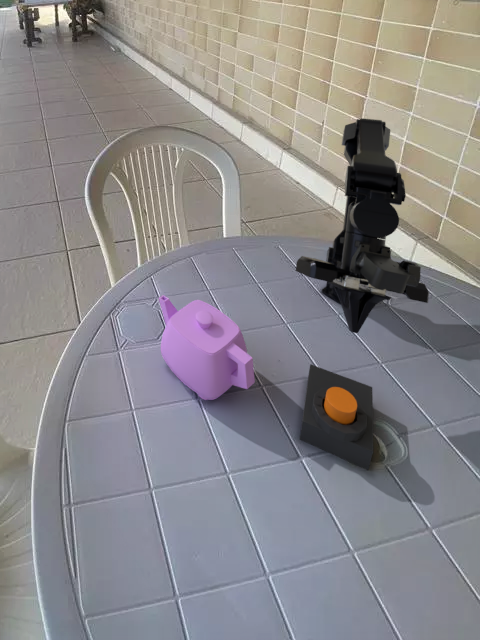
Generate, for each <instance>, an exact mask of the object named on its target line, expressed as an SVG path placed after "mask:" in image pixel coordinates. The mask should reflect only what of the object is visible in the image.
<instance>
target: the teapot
mask: <svg viewBox="0 0 480 640" xmlns="http://www.w3.org/2000/svg"><path fill="white" fill-rule="evenodd" d="M158 301H159V305H160V308H161V312H162V315H163V320H164V323H165V328H164V330H163V332H162V336H161V341H160V354H161V356H162V358H163V360H164V362H165V364H166V365H167V367H168V368H169V369H170V370H171V372H172V373H173V374H174V375H175V377H177V378H178V380H179V381H181V383H183V384H184V385H185V386H186V387H188V388H189V389H190V390H192V391H193V392H195V393H196V394H197V395H198V397H199V398H200V399H202V400H205V401H208V400H210V401H213V400H216V399H218V398H219V397H221V396H222V395H223V394H224V393H226V392H227V391H228V390H229V389H230V388H232V387H233V386H235V387H237V388H241V389H244V390H248V389H249V388H251V386H253V385H254V384H255V383H256V382H255V380H256V379H255V372H254V370H255V369H254V358H253V357H252V356H251V355H250V354H249V353H248V349H247V348H248V347H247V343H246V342H245V338H244V336H243V333H242V330H241V328H240V326H238V324H237V323H236V322H235V321H234V320H232V319H231V318H230V317H229V316H227V314H225V313H224V312H223V311H221V310H219V309H218V308H216V307H215V306H213V305H211V304H209V303H208V302H205V301H204V300H200V299H195V300H192V301H191V302H189V303H187V304H186V305H184V306H183V307H182V308H180V309H179V310H178V309H177V308H176V306H175V305H174V304H173V302H172V301H171V300H170V298H169V297H167V296H166V295H165V294H163V295H161V296H159V297H158Z"/></svg>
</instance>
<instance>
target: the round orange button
mask: <svg viewBox="0 0 480 640" xmlns="http://www.w3.org/2000/svg"><path fill="white" fill-rule="evenodd" d="M324 409H325V411H326V413H327V415H328V416H329V417H330V418H331V419H332V420H334V421H335V422H338V423H340V424H344V425H348V424H351V423H352V422H353V421H354V419H355V414H356V410H357V402H356V400H355V398H354V397H353V395H352V394H351V393H349V392H348V391H347V390H345V389H343V388H340V387H331V388H329V389H328V390H327V392H326V397H325V403H324Z"/></svg>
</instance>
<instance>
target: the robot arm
mask: <svg viewBox="0 0 480 640" xmlns="http://www.w3.org/2000/svg"><path fill="white" fill-rule="evenodd" d="M386 123H387V122H386V121H383V120H382V119H372V118H362V117H361V118H359V119H358V118H356V120H355V122H352V123H348V124H345V125H344V128H343V132H342V138H341V146H344V150H343V156H344V158H345V160H346V161H347V163H348V165H347V166H346V171H345V179H344V180H345V181H344V197H346V201H345V210H344V216H343V217H344V218H343V226H342V231H340V232H339V234H338V235H337V236H335V238H334V239H333V241H332V246H329V247H328V248H327V253H326V259H325V260H323V259H318V258H313V257H309V256H305V255H301V256H300V257H299V258H297V261H296V264H295V265H296V266H295V272H297V273H299V274H301V275H303V276H306V277H308V278H311V279H315V280H318V281H319V280H320V281H323V282H326V283H325V287H323V288H322V289H321V293H322V294H323V295H325V296H327V297H328V298H330V299H331V300H333V301H334V302H336V303H338V304H340V305H341V308H342V311H343V315H344V317H345V321H346V323H347V328H348V330H349V332H351V333H352V334H353V333H354V334H359V332H360V331H361V329H362V327H363V326H364V323H365V322H366V320H367V318H368V317H369V315H370V314H371V312H372V310H373V309H374V308H375V307H376V306H377V305H378V304H379V303H382V302H383V301H390V300H391V299H392V297H391V296H388V295H387V292H392V293H396V294H400V295H404V296H406V298H407V299H408V300H411V301H416V302H421V303H424V304H425V303H426V304H428V303H429V299H430V298H429V297H430V296H429V295H430V291H429V290H428V288H427V286H426V284H425V283H423V282H421V268H422V267H421V266H419V265H418V264H417V263H416V262H413V261H408V260H402V261H401V262H399V261H396V260H393V259H392V257H391V256H392V251H391V247H389V246H386V240H387V237H388V236H390V235H392V234H393V233H395V232H396V231H397V229H398V227H399V225H400V224H399V223H400V217H399V213H398V211H397V210H396V208H395V207H394V206H393V205H397V206H401V205H402V203H403V202H405V200H406V197H407V195H406V188H405V187H406V186H405V180H404V179H403V178H402V173H401V172H398V168H397V165H396V161H395V160H394V159H392V158H390V157H389V156H387V155H386V151H387V149H388V148H389V147H390V139H391V129H390V128H388V127H387V126H386Z"/></svg>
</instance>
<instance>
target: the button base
mask: <svg viewBox="0 0 480 640" xmlns="http://www.w3.org/2000/svg"><path fill="white" fill-rule="evenodd" d="M308 369H309V370H308V375H307V380H306V387H305V388H306V389H305V396H304V403H303V404H304V405H303V411H302V418H301V423H300V425H301V426H300V433H299V440H300V441H302V442H305V443H307V444H309V445H311V446H313V447H315V448H317V449H320V450H322V451H324V452H326V453H329V454H331V455H333V456H335V457H336V458H337V457H338V458H340V459H342V460H344V461H346V462H348V463H351V464H352V465H355V466H357V467H358V468H361V469H363V470H366V471H369V469H370V466H371V462H372V457H373V454H374V417H373V416H374V407H373V405H374V403H373V401H374V400H373V399H374V397H373V386H371V385H368V384H366V383H362V382H359V381H357V380H354V379H353V378H352V379H351V378H349V377H346V376H344V375H341V374H338V373H335V372H334V371H330V370H327V369H325V368H321V367H319V366H317V365H313V364H309V368H308ZM331 387H340V388H343V389H345V390H347V391H348V392H349V393H351V394H352V395H353V397H354V398H355V400H356V402H357V410H356V414H355V419H354V421H353V422H352V423H351V424H348V425H344V424H340V423H338V422H335V421H334V420H332V419H331V418H330V417H329V416H328V415H327V413H326V411H325V409H324V403H325V397H326V392H327V390H328V389H329V388H331Z"/></svg>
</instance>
